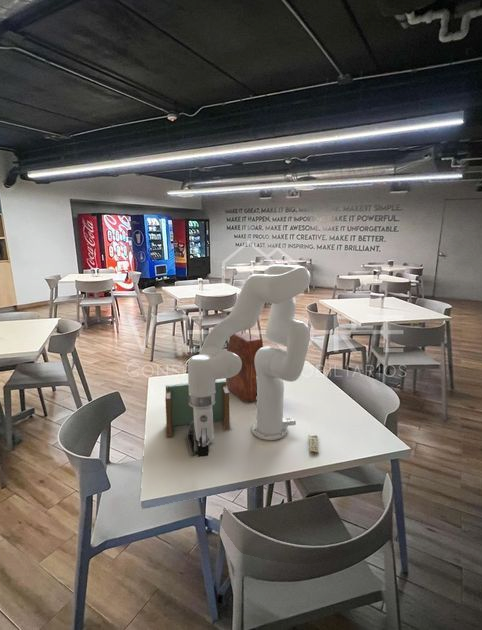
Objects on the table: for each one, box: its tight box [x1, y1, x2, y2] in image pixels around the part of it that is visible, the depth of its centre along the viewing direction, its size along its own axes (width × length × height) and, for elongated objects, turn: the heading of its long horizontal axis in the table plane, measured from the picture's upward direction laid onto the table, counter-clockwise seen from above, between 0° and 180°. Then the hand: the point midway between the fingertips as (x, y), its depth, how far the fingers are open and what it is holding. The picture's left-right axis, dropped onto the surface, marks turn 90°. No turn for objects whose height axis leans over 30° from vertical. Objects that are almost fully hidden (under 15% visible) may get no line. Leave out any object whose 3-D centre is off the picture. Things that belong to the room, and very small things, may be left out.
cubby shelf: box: [164, 379, 231, 438], centre depth 122 cm, size 22×9×16 cm, turn 104°
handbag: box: [225, 328, 264, 403], centre depth 149 cm, size 10×19×35 cm, turn 31°
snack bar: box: [308, 434, 320, 454], centre depth 113 cm, size 10×2×3 cm
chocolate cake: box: [185, 419, 212, 456], centre depth 113 cm, size 10×7×12 cm
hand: (202, 455), depth 99 cm, fingers closed
